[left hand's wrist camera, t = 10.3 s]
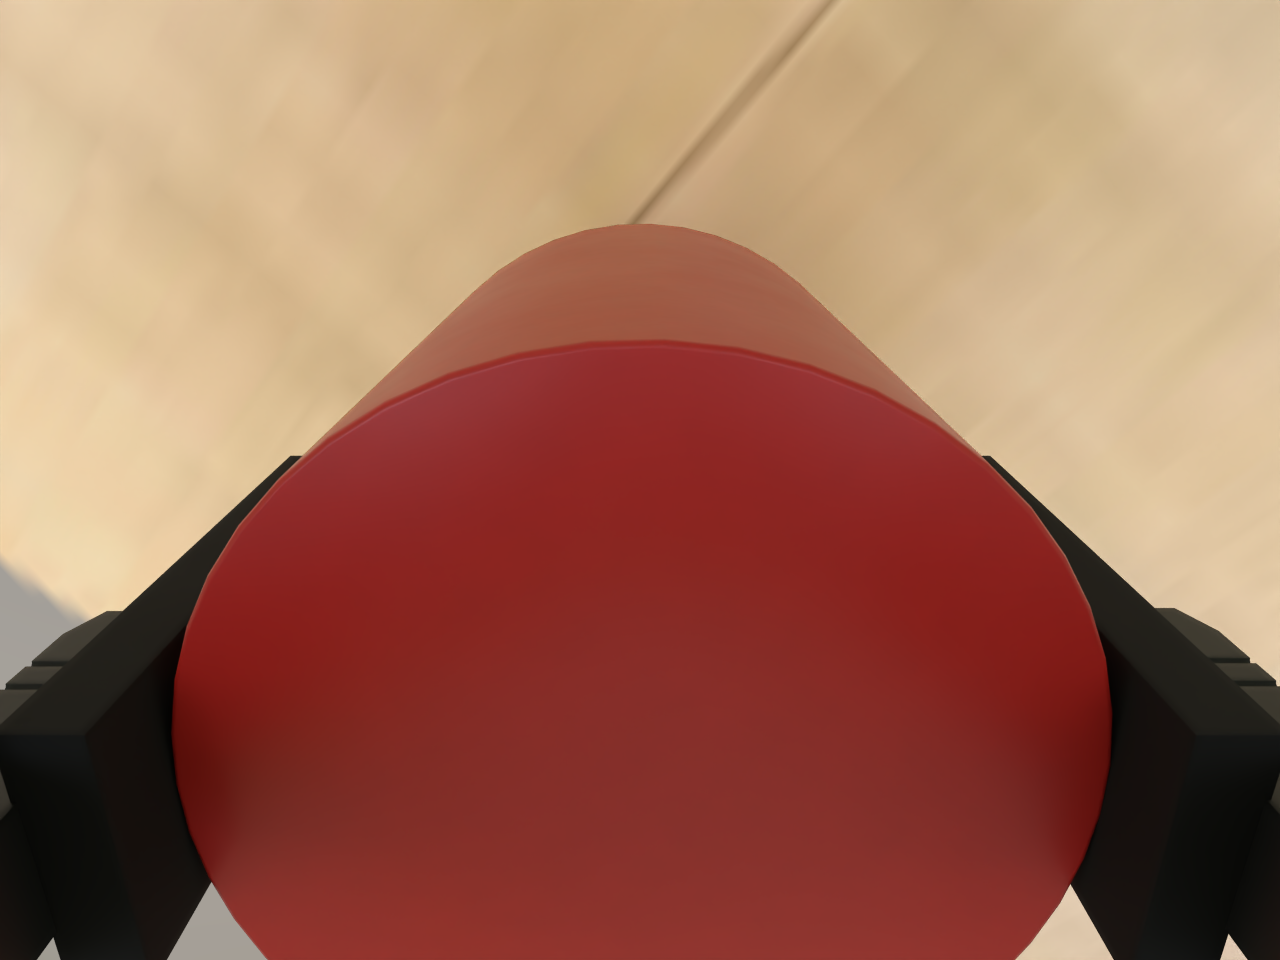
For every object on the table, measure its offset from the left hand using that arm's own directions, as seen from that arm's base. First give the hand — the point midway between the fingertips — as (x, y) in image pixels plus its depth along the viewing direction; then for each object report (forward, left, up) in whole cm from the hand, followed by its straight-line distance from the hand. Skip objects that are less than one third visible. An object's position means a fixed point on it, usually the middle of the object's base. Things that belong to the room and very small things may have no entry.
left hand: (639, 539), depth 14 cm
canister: (0, 0, -4) cm, 4 cm away
